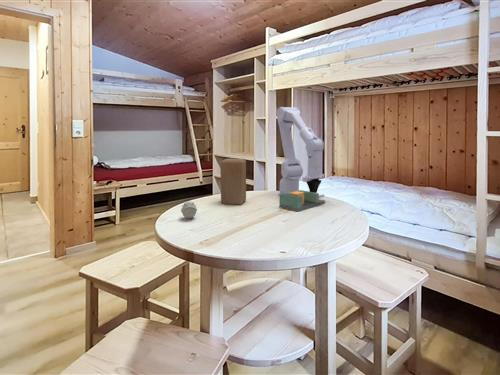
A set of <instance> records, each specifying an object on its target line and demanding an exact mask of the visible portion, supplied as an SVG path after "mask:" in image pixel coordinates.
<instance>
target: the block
mask: <svg viewBox="0 0 500 375" xmlns="http://www.w3.org/2000/svg"><path fill="white" fill-rule="evenodd" d="M219 164H220V166H219V167H220V168H219V170H220V171H219V172H220V173H219V174H220V202H221V204H222V205H231V204H234V206H237V205H238V206H240V205H241V206H242V205H243V203H245V202H246V200H247V160H246V159H245V158H225V159H222V160H220V163H219Z"/></svg>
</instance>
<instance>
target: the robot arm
mask: <svg viewBox="0 0 500 375" xmlns="http://www.w3.org/2000/svg"><path fill="white" fill-rule="evenodd" d="M276 119H277V124H278V127H279V128H278V129H279V132H280V140H281V143H282V144H281V146H282V151H283V156H284V161H283V162H281V164H280V166H281V167H280V168H281V170H280V174H281V176H282V178H280V181H279V193H278V196H280V194H282V193H287V194H290V193H291V192H296V191H299V190H300V179H301V177H302V183H303V182H305V183H306V184H307V187H308V189H309V192H315V193H318V191H319V187H320V184H322V180H321V179H325V173H321V165H322V164H321V163H322V152H323V151H324V149H325V143H324V140H323V139H322V138H319V137H317V135H316V134H315V133H314V130H313V129H312V128H311V127H308V126H307V125H306V124H305V122H304V120H303V118H302V116H301V111H300V110H299V107H298V106H293V107H292V106H288V107H287V106H280V107H279V108H278V109H277V113H276ZM292 126H295V127H296V128H297V129H298V130H299V136H300V138H301V139H302V141H303V142H304V143H305V150H306V154H307V175H306V176H305V175H304V174H303V173H304V169H303V167H302V164H301V161H300V160H298V159H297V158H296V153H295V147H294V142H293V135H292V130H291V127H292ZM303 175H304V176H303Z"/></svg>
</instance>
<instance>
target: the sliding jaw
mask: <svg viewBox="0 0 500 375" xmlns="http://www.w3.org/2000/svg"><path fill="white" fill-rule="evenodd" d="M299 192H304V200H305V201H310V202H315V203H317V202H319V199H321V198H324V197H325V194H323V193H322V194H320V193H319V192H317V193H315V192H310V190H309V191H307V190H302V189H299Z"/></svg>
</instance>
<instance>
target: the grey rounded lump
mask: <svg viewBox="0 0 500 375" xmlns="http://www.w3.org/2000/svg"><path fill="white" fill-rule="evenodd" d="M197 211H198V208H197V206H196V204H195V202H193V201H191V200H189V201H188V200H187V201H185V202H184V203H183V204H182V206H181V209H180V213H181V214H182V215H183V217H184V218H185V219H190V218H191V219H193V218H194V217H195V215H196V214H197Z"/></svg>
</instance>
